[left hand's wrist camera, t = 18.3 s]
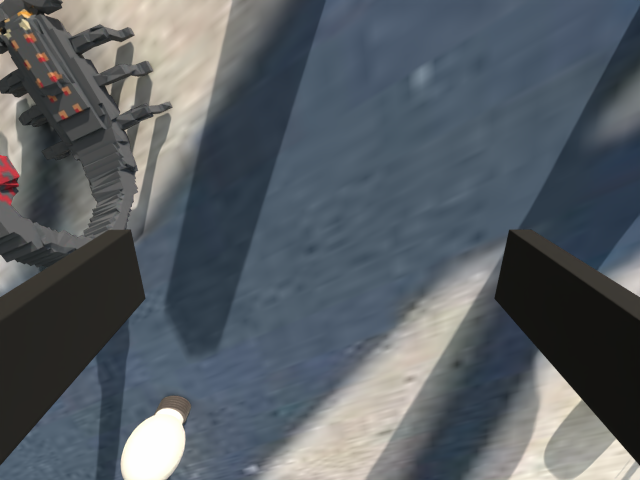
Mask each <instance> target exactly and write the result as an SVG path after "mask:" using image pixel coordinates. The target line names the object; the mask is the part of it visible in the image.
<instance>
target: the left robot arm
mask: <svg viewBox="0 0 640 480" xmlns="http://www.w3.org/2000/svg"><path fill="white" fill-rule="evenodd" d="M144 300H145V294H144V289H143V285H142V280H141V275H140V271H139V266H138V261H137V257H136V252H135V247H134V242H133V238H132V233H131V230H107V231H106V232H104V233H103V234H101V235H99V236H98V237H96V238H95V239H93V240H91V241H90V242H88V243H87V244H85V245H83V246H82V247H80V248H79V249H77V250H75V251H74V252H72V253H70V254H69V255H67V256H66V257H64V258H62V259H61V260H59V261H58V262H56V263H54V264H53V265H51V266H50V267H48V268H46V269H45V270H43V271H42V272H40V273H38V274H37V275H35V276H34V277H32V278H30V279H29V280H27V281H26V282H24V283H22V284H21V285H19V286H18V287H16V288H14V289H13V290H11V291H10V292H8V293H6V294H5V295H3V296H2V297H0V465H1V464H2V463H3V462H4V461H5V459H6V458H7V457H8V456H9V455H10V454H11V452H12V451H13V450H14V449H15V448H16V447H17V446H18V444H19V443H20V442H21V441H22V440H23V439H24V438H25V436H26V435H27V434H28V433H29V432H30V431H31V429H32V428H33V427H34V426H35V425H36V424H37V423H38V421H39V420H40V419H41V418H42V417H43V416H44V415H45V413H46V412H47V411H48V410H49V409H50V408H51V406H52V405H53V404H54V403H55V402H56V401H57V400H58V398H59V397H60V396H61V395H62V394H63V393H64V392H65V390H66V389H67V388H68V387H69V386H70V385H71V384H72V382H73V381H74V380H75V379H76V378H77V377H78V375H79V374H80V373H81V372H82V371H83V370H84V369H85V367H86V366H87V365H88V364H89V363H90V362H91V361H92V359H93V358H94V357H95V356H96V355H97V354H98V352H99V351H100V350H101V349H102V348H103V347H104V346H105V344H106V343H107V342H108V341H109V340H110V339H111V338H112V336H113V335H114V334H115V333H116V332H117V331H118V330H119V328H120V327H121V326H122V325H123V324H124V323H125V321H126V320H127V319H128V318H129V317H130V316H131V315H132V313H133V312H134V311H135V310H136V309H137V308H138V307H139V305H140V304H141V303H142V302H143V301H144ZM495 300H496V301H497V302H498V303H499V304H500V305H501V307H502V308H503V309H504V310H505V311H506V312H507V313H508V315H509V316H510V317H511V318H512V319H513V320H514V321H515V323H516V324H517V325H518V326H519V327H520V328H521V330H522V331H523V332H524V333H525V334H526V335H527V336H528V338H529V339H530V340H531V341H532V342H533V343H534V344H535V346H536V347H537V348H538V349H539V350H540V351H541V352H542V354H543V355H544V356H545V357H546V358H547V359H548V361H549V362H550V363H551V364H552V365H553V366H554V367H555V369H556V370H557V371H558V372H559V373H560V374H561V375H562V377H563V378H564V379H565V380H566V381H567V382H568V384H569V385H570V386H571V387H572V388H573V389H574V390H575V392H576V393H577V394H578V395H579V396H580V397H581V398H582V400H583V401H584V402H585V403H586V404H587V405H588V406H589V408H590V409H591V410H592V411H593V412H594V413H595V415H596V416H597V417H598V418H599V419H600V420H601V421H602V423H603V424H604V425H605V426H606V427H607V428H608V429H609V431H610V432H611V433H612V434H613V435H614V436H615V438H616V439H617V440H618V441H619V442H620V443H621V444H622V446H623V447H624V448H625V449H626V450H627V451H628V452H629V454H630V455H631V456H632V457H633V458H634V459H635V461H636V462H637V463H638V464H639V465H640V297H638V296H637V295H635V294H634V293H632V292H630V291H629V290H627V289H626V288H624V287H622V286H621V285H619V284H618V283H616V282H614V281H613V280H611V279H610V278H608V277H606V276H605V275H603V274H602V273H600V272H598V271H597V270H595V269H594V268H592V267H590V266H589V265H587V264H586V263H584V262H582V261H581V260H579V259H578V258H576V257H574V256H573V255H571V254H570V253H568V252H566V251H565V250H563V249H561V248H560V247H558V246H557V245H555V244H553V243H552V242H550V241H549V240H547V239H545V238H544V237H542V236H541V235H539V234H537V233H536V232H534V231H533V230H509V233H508V238H507V242H506V247H505V252H504V256H503V261H502V266H501V271H500V275H499V280H498V285H497V289H496V294H495Z"/></svg>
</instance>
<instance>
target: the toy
mask: <svg viewBox="0 0 640 480" xmlns="http://www.w3.org/2000/svg"><path fill="white" fill-rule="evenodd" d="M62 3H63V2H62V1H61V0H5V1H4V2H2V3H1V4H0V54H3V53H5V52H6V51H8V50H9V53H10V55H11V56H12V57H11V58H12V60H13V61H14V63H15V64H16V66H17V67H18V69H17V70H15V71H13V72H11V73H10V74H9V75H7V76H6V77H4V78H3V79H2V80H0V92H1V93H2V94H13V95H14V96H15V97H21V96H23V95H24V94H26V93H29V94H30V96H31V97H32V99H33V100H34V102H35V103H36V104H37V105H34V106H32V108H31V109H29V110H27V111H26V112H24V113H22V114H21V116H20V117H19V120H20V122H21V123H22V125H32V126H33V127H38V126H41V125H43V124H45V123H47V122H49V123H50V125H51V126H52V127H53V128H54V129H55V131H56V132H57V134H58V135H59V137H60V138H61V139H62V141H61V142H59V143H57V144H55V145H53V146H51V147H49V148H47V149H45V150H43V151H42V153H43V154H44V156H45V157H46V159H47V160H49V159H52V158H55V160H59V159H62V158H64V157H66V156H68V155H69V153H68V151H71V153H72V154H73V156H74V158H75V160H79V161H81V162H82V165H83V169H84V171H85V173H86V174H85V175H86V177H87V178H88V180H89V185H90V188H91V190H92V193H93V194H92V196H93V197H94V198H95V200H96V201H97V206H96V208H94V209H92V210H93V212H94V213H92V214H93V215H94V216H93V217H92V218H90V221H91V223H89V224H88V225H89V228H88V229H86V230H84V235H82V236H80V237H76V235H73V236H72V235H71V234H69V233H68V232H66V231H65V230H63V231H61V232H59V233H58V232H57V231H56V230H51V229H50V227H48V228H46V227H44V226H41V225H39V224H38V223H37V222H35V223H32V222H31V220H30V219H26V218H22V217H21V215H20V214H19V213H18V212H17V211H16V210H15V209H14V207H13V206H12V205H11V202H12V198H13V196H14V195H15V194H16V193H17V192H19V191H18V190H17V189H16V187H18V185H19V184H18V183H17V180H18V178H19V177H20V176H19V174H18V172H17V171H16V169H15V168H14V166H13V165H12V163H11V162H10V160H9V158H8V157H7V156H1V155H0V255H1V256H2V257H3V258H4V259H5V261H6V262H9V261H12V260H14V259H15V260H16V261H17V262H21V263H23V264H26V263H27V264H29V265H30V266H32V265H34V264H35V266H36V267H39V266H41V265H42V266H44V267H50V266H51V265H53V264H54V263H56V262H58V261H59V260H61V259H62V258H64V257H66V256H67V255H69V254H70V253H72V252H74V251H75V250H77V249H79V248H80V247H82V246H83V245H85V244H87V243H88V242H90V241H91V240H93V239H95V238H96V237H98V236H99V235H101V234H103V233H104V232H106V231H107V230H126V228H127V222H128V221H129V220H128V219H127V217H129V216H130V214H129V212H131V211H132V210H131V209H130V207H132V203H133V202H134V200H133V195H134V194H135V193H137V192H138V191H137V189H138V188H137V186H136V184H135V182H136V181H135V179H136V177H135V173H136V171H138V169H137V165H136V162H135V160H134V157H133V154H132V152H131V149H130V143H129V140H128V137H127V134H126V132H125V131H124V130H126V129H128V128H130V127H131V126H133V125H135V124H137V123H139V122H140V121H143V120H145V119H148V118H150V117H153V114H159V113H162V112H164V111H166V110H168V109H170V108H172V105H171V104H170V102H166V103H163V104H160V105H156V106H148V105H147V104H143V105H141V106H139V107H137V108H135V109H131V110H129V111H127V112H125V113H123V114H122V115H119V114H120V111H119V109H118V107H117V105H116V103H115V102H114V100H113V98H112V96H111V95H109V94H108V92H107V89H106V87H105V85H109V84H111V83H114V82H116V81H119V80H121V79H123V78H126V77H128V76H131V75H132V76H138V77H139V76H144V75H146V74H148V73H150V72H152V71H153V69H152V67H151V66H150V64H149V62H148V61H144V62H141V63H139V64H136V65H127V64H120V65H117V66H115V67H113V68H111V69H108V70H106V71H104V72H102V73H100V74H98V72H97V70H96V68H95V67H94V65H93V63H92V61H91V60H88V59H84V57H83V55H82V53H84V52H86V51H88V50H90V49H91V48H93V47H96V46H99V45H101V44H104V43H106V42H109V41H111V40H115V41H119V42H122V41H124V40H126V39H128V38H130V37H132V36H134V33H133V31H132V29H131V28H128V27H127V28H125V29H123V30H119V31H116V30H113V29H110V28H106V27H104V26H102V25H97V26H95V27H93V28H90V29H88V30H86V31H84V32H81V33H79V34H77V35H75V36H73V37H72V36H71V35H70V33H69V32H67V31H66V30H65V28H64V26H63V24H62V23H61V22H60V21H59V20H58V19H54V18H51V17H48V16H45V15H44V13H45V14H48V15H49V14H51V13H53V12H55V11H57V10H59V9H61V8H62V6H61V4H62Z"/></svg>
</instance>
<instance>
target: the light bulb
mask: <svg viewBox="0 0 640 480" xmlns="http://www.w3.org/2000/svg"><path fill="white" fill-rule="evenodd" d="M190 409H191V405H190V403H189V402H188V401H187V400H186V399H184V398H182V397H179V396H168V397H166V398H164V399H163V400H162V401H161V403H160V404H159V406H158V408H157V410H156V412H155V414H154V416H152V417H150V418H148V419H146V420H145V421H144V422H142V423H141V424H140V425H139V426H138V427H137V428H136V429H135V430H134V431H133V433H132V434H131V436H130V437H129V439H128V440H127V443H126V445H125V447H124V450H123V454H122V458H121V472H122V476H123V478H124V480H167V479H168V477H169V476H170V475H171V474H172V473H173V472H174V470H175V469H176V467H177V466H178V464H179V462H180V460H181V457H182V455H183V451H184V446H185V432H184V428H183V426H182V424H184V423H185V421H186V419H187V416H188V414H189V411H190Z"/></svg>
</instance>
